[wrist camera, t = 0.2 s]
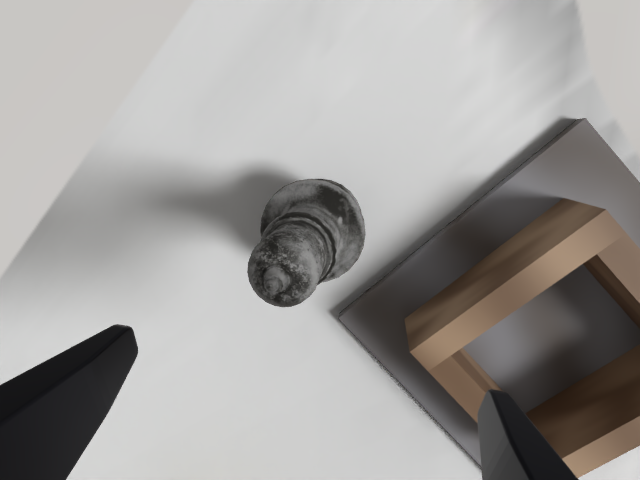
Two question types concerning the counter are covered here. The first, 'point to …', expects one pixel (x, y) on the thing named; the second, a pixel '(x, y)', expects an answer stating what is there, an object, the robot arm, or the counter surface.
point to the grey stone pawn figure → (305, 240)
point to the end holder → (526, 305)
